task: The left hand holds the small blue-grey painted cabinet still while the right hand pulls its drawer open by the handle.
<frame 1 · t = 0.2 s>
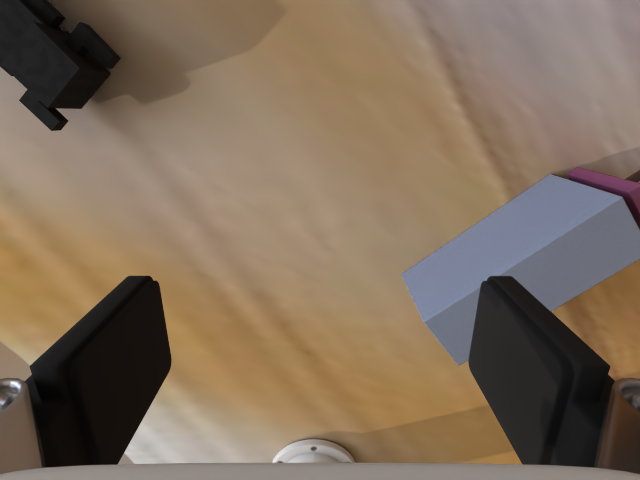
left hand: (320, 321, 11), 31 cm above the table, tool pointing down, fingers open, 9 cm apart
cabinet: (485, 246, 43), on the table
drawer: (554, 234, 37), point 5 cm above the table, slide at 1.0 cm
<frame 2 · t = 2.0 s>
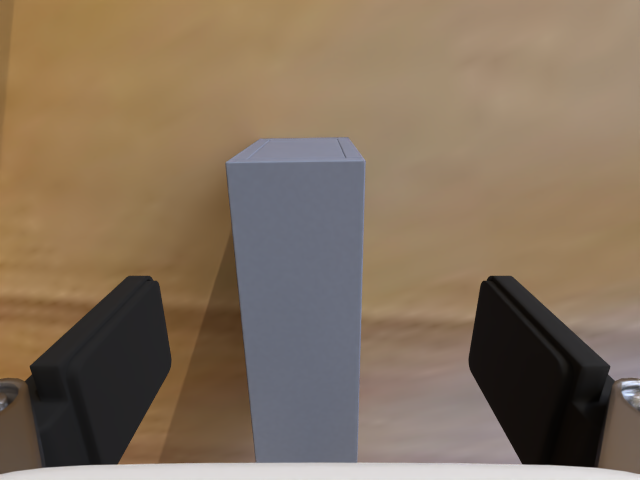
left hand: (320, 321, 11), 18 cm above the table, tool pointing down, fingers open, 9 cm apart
cabinet: (307, 263, 30), on the table
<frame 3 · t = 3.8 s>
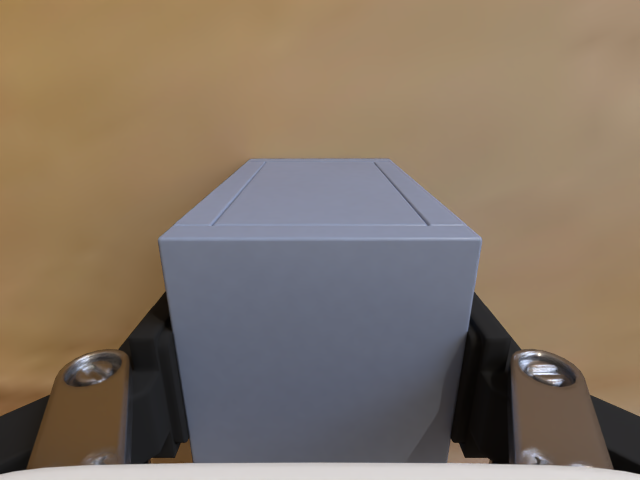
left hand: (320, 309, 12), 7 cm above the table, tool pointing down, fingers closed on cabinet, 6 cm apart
cabinet: (319, 340, 20), on the table, touching left hand
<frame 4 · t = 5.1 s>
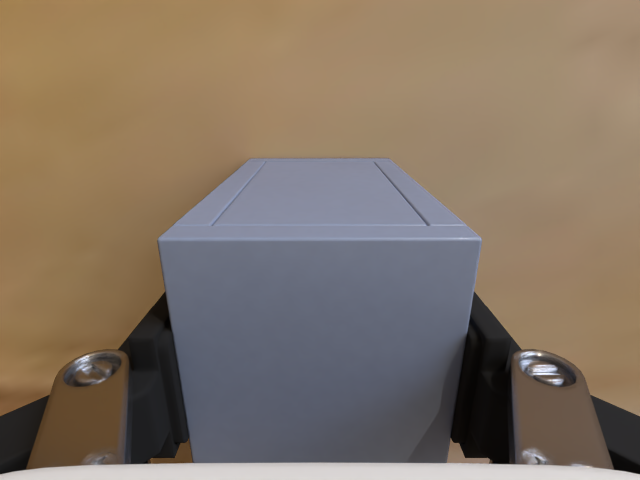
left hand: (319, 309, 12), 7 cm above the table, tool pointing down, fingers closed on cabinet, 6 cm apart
cabinet: (319, 340, 20), on the table, touching left hand
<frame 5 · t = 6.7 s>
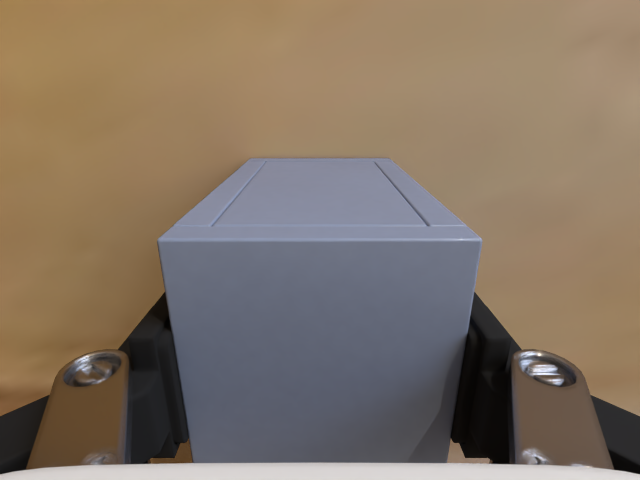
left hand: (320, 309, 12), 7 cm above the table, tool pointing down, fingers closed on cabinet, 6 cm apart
cabinet: (319, 340, 20), on the table, touching left hand
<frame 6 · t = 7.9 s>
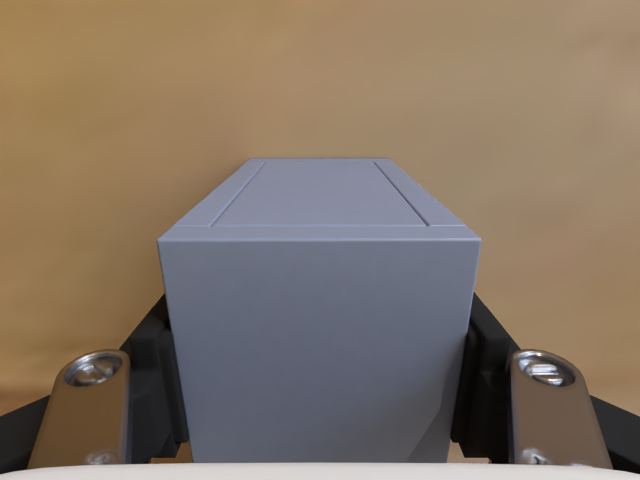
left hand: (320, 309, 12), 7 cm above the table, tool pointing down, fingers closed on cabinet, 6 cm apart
cabinet: (319, 340, 20), on the table, touching left hand
when the left hand's fingers open (7 cm above the table, at t = 8.5 s): cabinet stays where it is, on the table.
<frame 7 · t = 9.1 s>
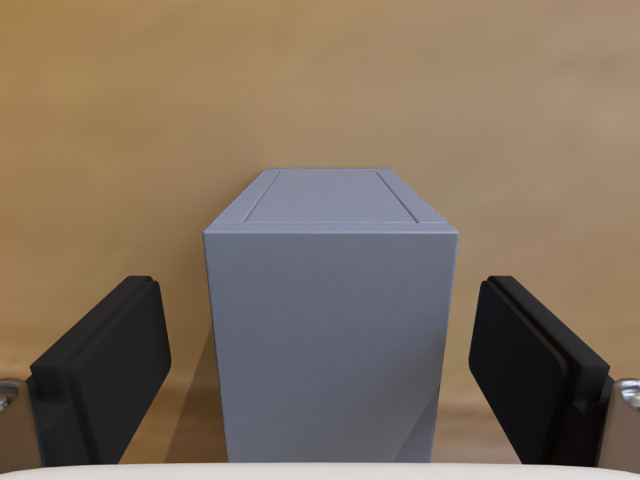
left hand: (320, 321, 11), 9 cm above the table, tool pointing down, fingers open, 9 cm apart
cabinet: (326, 334, 22), on the table
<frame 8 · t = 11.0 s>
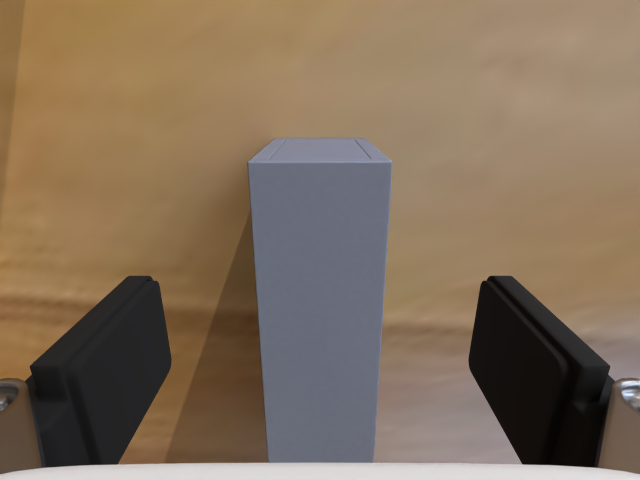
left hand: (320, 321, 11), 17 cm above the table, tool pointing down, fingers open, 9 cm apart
cabinet: (320, 266, 29), on the table
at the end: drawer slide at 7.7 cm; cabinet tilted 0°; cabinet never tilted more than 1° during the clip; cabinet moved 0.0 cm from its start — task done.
